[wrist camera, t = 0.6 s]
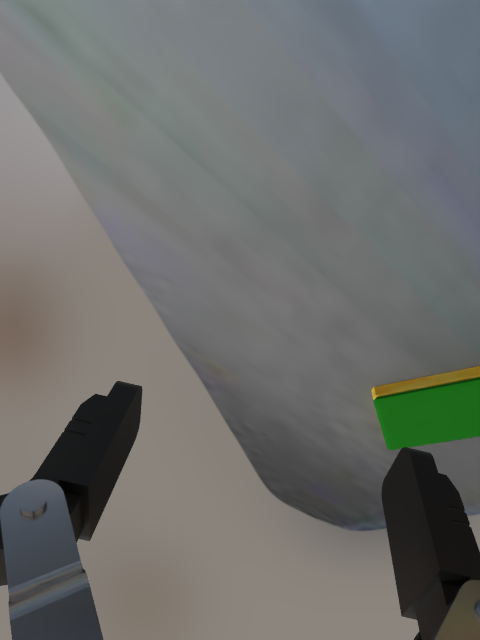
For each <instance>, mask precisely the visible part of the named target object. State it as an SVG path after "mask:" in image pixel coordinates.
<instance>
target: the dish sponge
mask: <svg viewBox="0 0 480 640" xmlns="http://www.w3.org/2000/svg"><path fill="white" fill-rule="evenodd" d="M371 391H372V396H373V400H374V405H375V408H376V411H377V415H378V418H379V421H380V425H381V428H382V431H383V435H384V438H385V442H386V445H387V448H388V449H390V450H395V449H402V448H403V447H406V448H408V447H414V446H421V445H427V444H434V443H440V442H446V441H453V440H459V439H466V438H472V437H478V436H480V366H477V367H472V368H467V369H462V370H457V371H452V372H447V373H442V374H437V375H432V376H427V377H422V378H417V379H412V380H407V381H402V382H397V383H392V384H387V385H382V386H377V387H374V388H373V389H372V390H371Z"/></svg>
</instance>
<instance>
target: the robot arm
mask: <svg viewBox="0 0 480 640" xmlns="http://www.w3.org/2000/svg"><path fill="white" fill-rule="evenodd" d="M141 400H142V386H138V385H134V384H129V383H124V382H121V381H117V382H116V383H115V384H114V386H113V388H112V390H111V391H110V393H109V394H108V396H102V395H98V394H95V395H93V396H92V397H91V398H89V399H88V400H86V401H85V402H84V403H82V404H81V405H80V407H79V408H78V410H77V411H76V413H75V414H74V416H73V417H72V420H71V421H70V422H69V424H68V425H67V427H66V428H65V431H64V432H63V433H62V434H61V436H60V437H59V439H58V441H57V442H56V443H55V445H54V446H53V448H52V449H51V451H50V453H49V454H48V456H47V457H46V459H45V460H44V462H43V463H42V465H41V466H40V468H39V469H38V471H37V473H36V474H35V475H34V477H33V478H32V479H31V480H30V481H28V482H26V483H23V484H21V485H19V486H18V487H16V488H15V489H13V490H12V491H11V492H10V493H8V494H4V495H1V496H0V586H2V585H8V590H9V615H10V624H11V634H12V640H103V637H102V632H101V628H100V624H99V620H98V616H97V612H96V608H95V605H94V600H93V597H92V592H91V588H90V584H89V581H88V577H87V574H86V572H85V570H84V569H83V567H82V564H81V560H80V556H79V552H78V548H77V544H76V543H77V541H78V539H83V540H87V541H90V539H91V537H92V535H93V533H94V531H95V528H96V526H97V524H98V522H99V519H100V517H101V515H102V513H103V511H104V508H105V506H106V504H107V502H108V500H109V497H110V495H111V493H112V490H113V488H114V486H115V484H116V482H117V479H118V477H119V475H120V473H121V471H122V468H123V466H124V464H125V462H126V459H127V457H128V455H129V453H130V451H131V448H132V446H133V444H134V442H135V439H136V436H137V433H138V429H139V424H140V415H141ZM382 504H383V509H384V515H385V521H386V527H387V532H388V538H389V544H390V551H391V556H392V562H393V568H394V574H395V580H396V586H397V592H398V597H399V603H400V609H401V615H402V616H403V617H407V618H412V619H416V620H417V621H418V625H419V632H418V634H417V635H416V636H415V638H414V640H480V552H479V549H478V546H477V543H476V541H475V537H474V534H473V532H472V529H471V527H469V524H470V523H469V520H468V517H467V514H466V513H465V512H464V510H465V509H464V506H463V503H462V500H461V497H460V494H459V492H458V490H457V489H456V488H455V486H454V485H453V484H452V482H451V481H450V479H449V478H448V477H447V475H444V474H440V473H438V471H437V467H436V464H435V461H434V458H433V456H432V454H431V453H428V452H424V451H420V450H415V449H411V448H406V447H403V448H402V449H401V450H400V452H399V454H398V455H397V457H396V459H395V461H394V462H393V464H392V466H391V468H390V469H389V471H388V473H387V475H386V477H385V478H384V481H383V485H382Z"/></svg>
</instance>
